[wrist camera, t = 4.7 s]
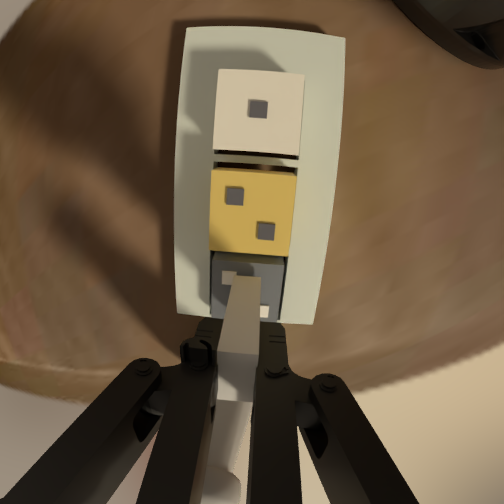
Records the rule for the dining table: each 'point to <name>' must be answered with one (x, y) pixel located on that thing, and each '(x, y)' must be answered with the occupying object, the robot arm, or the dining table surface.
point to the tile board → (306, 163)
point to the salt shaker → (225, 452)
